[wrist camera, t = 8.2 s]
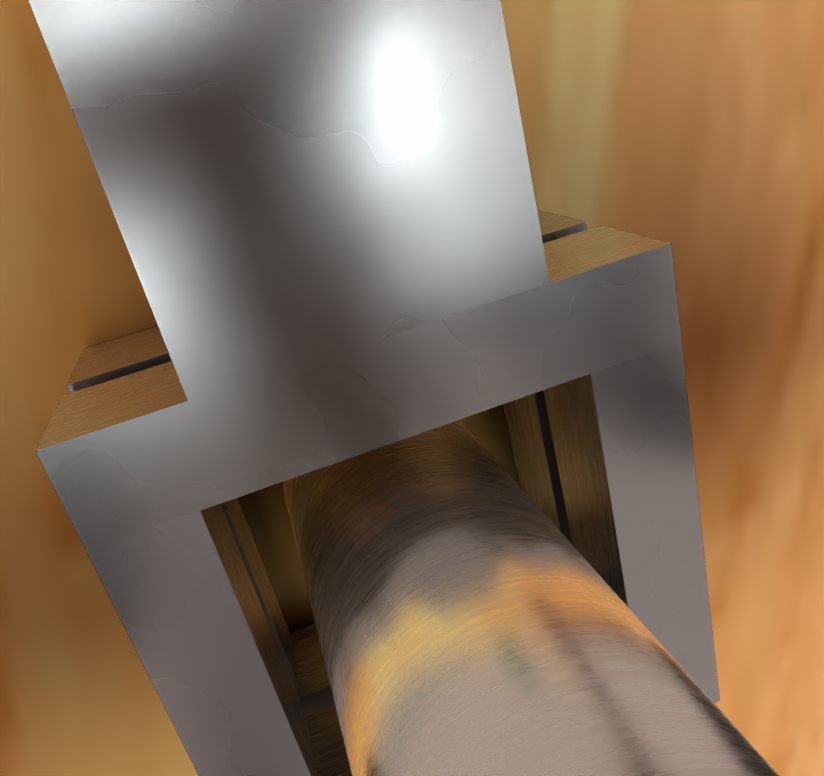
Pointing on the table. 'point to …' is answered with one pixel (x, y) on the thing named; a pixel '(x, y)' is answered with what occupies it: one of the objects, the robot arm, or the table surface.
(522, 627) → the link pin
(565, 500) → the strap
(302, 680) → the lower strap
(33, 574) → the table surface
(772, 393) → the table surface
